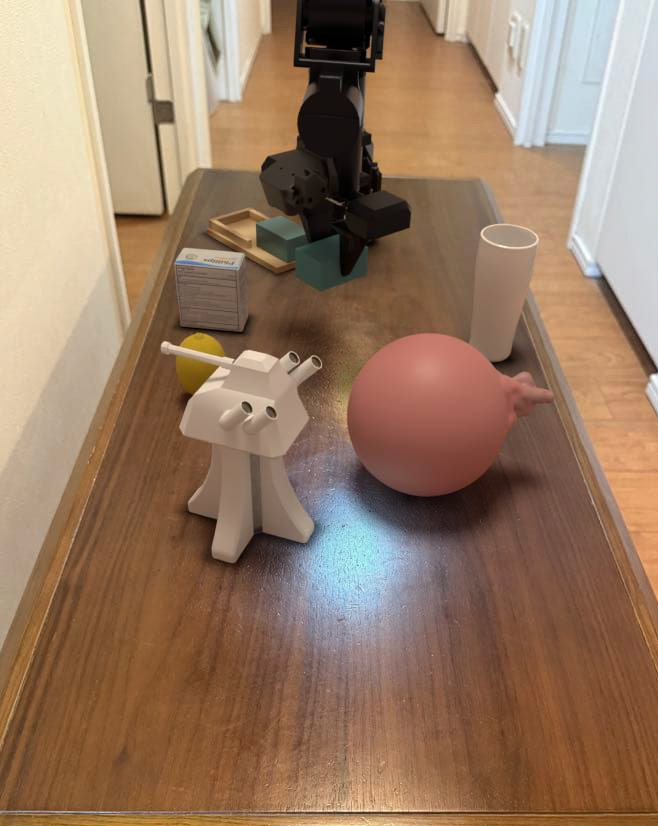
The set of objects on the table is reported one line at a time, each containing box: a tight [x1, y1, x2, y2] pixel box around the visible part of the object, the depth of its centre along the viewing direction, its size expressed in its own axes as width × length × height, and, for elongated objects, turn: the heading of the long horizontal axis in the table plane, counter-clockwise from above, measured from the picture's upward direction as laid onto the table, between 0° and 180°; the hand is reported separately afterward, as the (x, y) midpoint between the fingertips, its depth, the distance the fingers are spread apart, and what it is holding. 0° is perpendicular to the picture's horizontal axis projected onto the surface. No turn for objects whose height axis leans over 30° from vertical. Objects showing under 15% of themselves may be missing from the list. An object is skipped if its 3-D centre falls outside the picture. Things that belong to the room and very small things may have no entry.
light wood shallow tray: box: [206, 207, 308, 275], centre depth 121 cm, size 16×9×4 cm, turn 44°
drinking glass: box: [468, 223, 540, 363], centre depth 99 cm, size 7×7×15 cm
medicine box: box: [173, 247, 250, 333], centre depth 103 cm, size 8×4×9 cm, turn 84°
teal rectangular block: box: [294, 234, 369, 292], centre depth 95 cm, size 7×5×3 cm, turn 132°
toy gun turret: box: [160, 340, 323, 564], centre depth 73 cm, size 12×13×18 cm
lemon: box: [175, 332, 227, 396], centre depth 91 cm, size 6×6×8 cm
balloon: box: [346, 332, 556, 497], centre depth 80 cm, size 15×20×15 cm
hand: (331, 267), depth 95 cm, fingers closed on teal rectangular block, 4 cm apart
